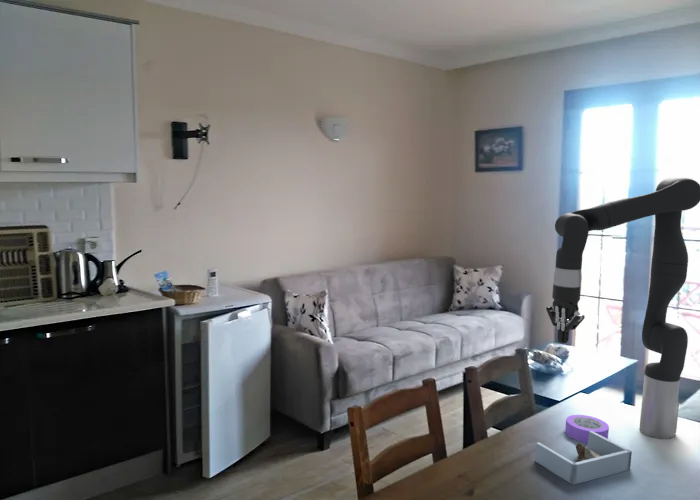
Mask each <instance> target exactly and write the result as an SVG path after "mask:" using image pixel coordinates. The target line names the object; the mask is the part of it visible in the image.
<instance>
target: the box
mask: <svg viewBox="0 0 700 500" xmlns="http://www.w3.org/2000/svg"><path fill="white" fill-rule="evenodd" d="M587 448H588V449H589V450H591V451H594V452H596V453H597V454H599V455H601V456H600V457H596V458H592V459H588V460H584V461H581V460H579V461H577V462H573V461H571V460H570V459H568V458H567V457H565V456H563V455H562V454H560V453H558V452H557V451H555V450H553V449H551V448H550V447H548V446H546V445H544V444H543V443H541V442H539V441H538V442H536V444H535V457H534V461H535V462H536V463H537V464H538V465H541V466H542V467H544V468H545V469H547V470H548V471H550V472H551V473H553V474H554V475H556V476H558V477H559V478H561V479H563V480H564V481H566V482H567V483H569V484H571V485H572V486H573V485H577V484H581V483H585V482H588V481H592V480H595V479H599V478H604V477H608V476H611V475H615V474H619V473H623V472H626V471H631V467H632V466H631V465H632V464H631V463H632V455H633V454H632V453H633V451H632V450H630V449H628V448H626V447H625V446H623V445H620V444H619V443H617V442H615V441H612V440H611V439H609V438H608V439H607V438H605V437H603V436H601V435H599V434H597V433H595V432H593V431H589V439H588V443H587Z"/></svg>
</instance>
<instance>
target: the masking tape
mask: <svg viewBox="0 0 700 500" xmlns="http://www.w3.org/2000/svg"><path fill="white" fill-rule="evenodd" d="M609 430H610V427H609V425H608V423H607V422H606V421H603V420H602V419H600V418H598V417H595V416H590V415H585V414H572V415H569V416H567V417H566V419H565V429H564V431H565V433H566V435H567V436H568V437H570V438H572V439H574V440H576V441H579V442H582V443H587V444H588V439H589V431H593V432H595V433H597V434H599V435H601V436H603V437H605V438H607V439H609Z"/></svg>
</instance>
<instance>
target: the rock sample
mask: <svg viewBox="0 0 700 500" xmlns="http://www.w3.org/2000/svg"><path fill="white" fill-rule="evenodd" d="M575 450H576V454H577V456H578V459H579V461H584V460H588V459H592V458H596V457H600V456H601V455H599V454H597V453H596V452H594V451H591V450H589V449H588V446H586V445H584V444H583V443H581V442H577V443H576V445H575Z"/></svg>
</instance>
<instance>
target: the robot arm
mask: <svg viewBox="0 0 700 500" xmlns="http://www.w3.org/2000/svg"><path fill="white" fill-rule="evenodd" d="M699 203H700V183H699V182H698V181H696V180H694V179H693V178H688V177H667V178H664V179H663V180H661V181H660V182H659V183H658V184H657V186H656V189H655V191H653V192H651V193H647V194H641V195H637V196H631V197H627V198H626V197H624V198H620V199H615V200H612V201H608V202H605V203H603V204H599V205H596V206H593V207H591V208H590V207H589V208H585V209H580V210H579V209H578V210H574V211H570V212H566V213H564V214H561V215H560V216H559V217H557V219H556V221H555V224H554V229H555V232H556V233H557V234H558V235H559V236H560V237H562V241H561V246H560V247H559V248H557V251H556V256H555V267H554V273H553V283H552V296H551V297H552V299H553V301H552V304H551V306H547V307H546V312H547V314H548V317H549V319H550V321H551V324H552V325H553V327H556V329H557V341H558V343H561V344H567V343H568V342H569V337H570V331H571V330H572V331H573V330H574V331H575V330H576V328H578V327H579V325H580V324H582V322H583V321H584V320H585V315H584V314H581V313H580V311H579V310H580V309H579V308H580V307H579V304H578V303H579V301H580V300H581V292H582V282H583V281H582V278H583V276H582V266H583V255H584V251H585V248H586V244H587V240H588V238H589V232H591V231H603V230H604V231H605V230H607V229H611V228H614V227H617V226H620V225H624V224H627V223H630V222H633V221H636V220H639V219H643V218H647V217H651V216H654V235H653V244H652V245H653V246H652V247H653V248H652V255H651V265H650V278H649V279H650V281H649V287H648V288H649V289H648V290H649V292H648V298H647V303H646V304H647V305H646V309H645V315H644V319H643V323H642V324H643V325H642V329H641V330H642V331H641V340H642V341H641V342H642V345H643V347H645V349H646V350H648V351H652V352H655V353H656V354H657V353H658V354H661V356H660V361H659V362H649V363H647V364H646V365H645V368H644V376H643V387H642V396H641V397H642V398H641V408H640V409H641V410H640V416H639V417H640V418H639V427H638V428H639V431H640V432H641V433H643V434H645V435H647V436H649V437H652V438H656V439H665V440H666V439H669V440H670V439H672V438H674V437H675V435H676V434H677V428H678V427H677V426H678V420H679V419H678V417H679V410H680V409H679V408H680V403H679V393H680V383H681V376H682V375H681V374H682V372H683V371H684V367H685V362H686V356H687V350H688V343H689V336H688V332H687V330H686V329H685V328H684V327H682V326H680V325H677V324H673V323H671V322H670V323H669V322H667V319H666V318H667V312H668V308H669V305H670V303H671V301H672V300H673V298H674V297H675V296H676V295H677V294H678V293H679V291H680V290H681V289H682V288H683V285H684V284H685V283H686V280H687V275H688V265H689V264H688V263H689V254H688V253H689V252H688V249H687V246H686V242H685V240H684V239H685V238H684V236H683V232H682V225H681V223H682V215H683V214H682V213H683V211H688V210H691V209H693V208H694V207H696V206H698V204H699ZM675 433H676V434H675Z"/></svg>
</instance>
